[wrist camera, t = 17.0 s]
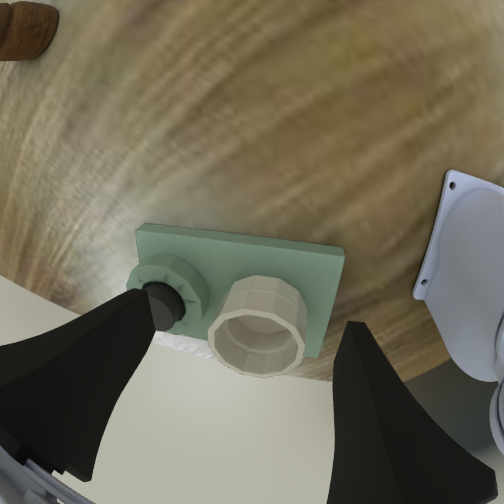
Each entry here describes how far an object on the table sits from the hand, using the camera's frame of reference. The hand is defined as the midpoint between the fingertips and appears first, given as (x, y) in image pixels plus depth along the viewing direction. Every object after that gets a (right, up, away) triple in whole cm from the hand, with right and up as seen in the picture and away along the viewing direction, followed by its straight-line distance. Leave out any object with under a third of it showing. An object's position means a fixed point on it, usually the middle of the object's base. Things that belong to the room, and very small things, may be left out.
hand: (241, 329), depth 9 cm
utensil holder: (-19, +23, +3) cm, 30 cm away
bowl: (+1, -1, +9) cm, 9 cm away
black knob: (-6, -1, +9) cm, 11 cm away
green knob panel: (-1, 0, +11) cm, 11 cm away
